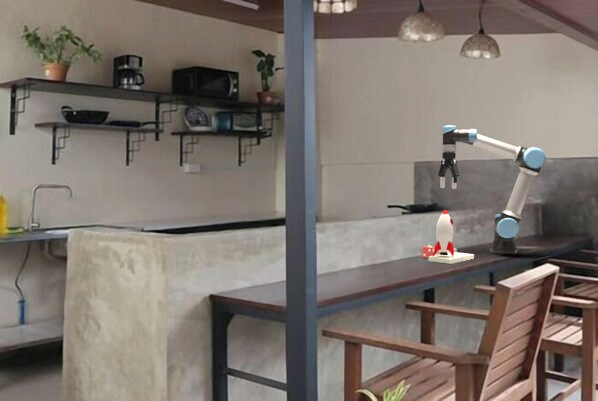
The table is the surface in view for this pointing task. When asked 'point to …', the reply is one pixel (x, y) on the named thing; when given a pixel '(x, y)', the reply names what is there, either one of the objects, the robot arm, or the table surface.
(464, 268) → the table surface
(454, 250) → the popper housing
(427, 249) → the red die
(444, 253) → the rocket
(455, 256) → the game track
